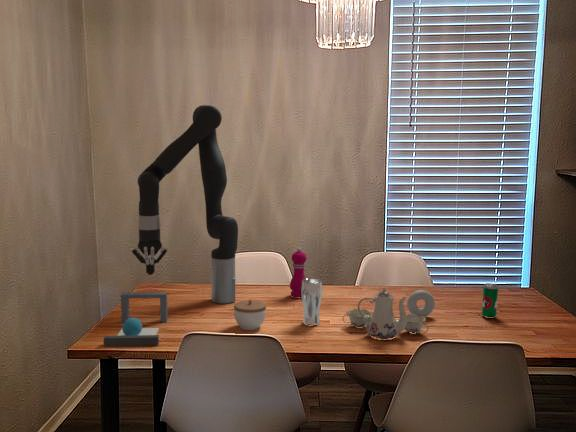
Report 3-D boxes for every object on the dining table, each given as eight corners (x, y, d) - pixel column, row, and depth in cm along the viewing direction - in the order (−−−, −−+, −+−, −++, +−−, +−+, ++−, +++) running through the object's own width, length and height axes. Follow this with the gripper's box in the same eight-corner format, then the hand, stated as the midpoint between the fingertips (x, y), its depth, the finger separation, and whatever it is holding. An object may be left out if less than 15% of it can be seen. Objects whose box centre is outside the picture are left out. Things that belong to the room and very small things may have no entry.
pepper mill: (305, 299, 217) (306, 249, 214) (287, 298, 218) (288, 248, 216) (308, 294, 224) (309, 246, 221) (291, 293, 225) (292, 245, 223)
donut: (432, 315, 198) (433, 288, 196) (435, 318, 194) (436, 291, 193) (405, 315, 197) (406, 288, 196) (407, 318, 194) (409, 291, 192)
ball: (138, 330, 168) (140, 341, 172) (143, 314, 172) (144, 326, 176) (119, 328, 168) (121, 340, 172) (123, 313, 172) (126, 325, 176)
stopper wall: (158, 342, 167) (158, 335, 167) (157, 345, 165) (157, 337, 165) (105, 343, 166) (105, 335, 166) (103, 346, 164) (103, 338, 164)
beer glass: (323, 321, 190) (324, 279, 188) (318, 327, 183) (319, 284, 181) (304, 319, 192) (305, 277, 190) (298, 325, 185) (299, 282, 183)
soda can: (497, 319, 194) (499, 286, 192) (482, 318, 195) (484, 286, 193) (495, 315, 199) (497, 283, 197) (480, 314, 200) (482, 282, 198)
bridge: (123, 319, 189) (122, 292, 188) (167, 319, 190) (167, 292, 189) (121, 322, 186) (120, 294, 185) (166, 322, 187) (165, 294, 186)
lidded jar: (254, 334, 176) (254, 306, 174) (227, 329, 181) (227, 301, 180) (271, 325, 185) (272, 298, 184) (245, 320, 190) (245, 294, 189)
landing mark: (159, 328, 180) (159, 327, 180) (153, 341, 169) (153, 340, 169) (121, 329, 179) (121, 328, 179) (113, 341, 168) (113, 341, 168)
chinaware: (426, 334, 183) (428, 284, 183) (429, 346, 167) (431, 292, 166) (343, 327, 189) (345, 279, 188) (338, 339, 173) (339, 286, 172)
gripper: (128, 229, 193) (130, 277, 195) (166, 229, 194) (167, 276, 196) (132, 226, 200) (134, 272, 202) (169, 225, 201) (170, 271, 203)
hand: (150, 274), depth 199 cm, fingers closed
